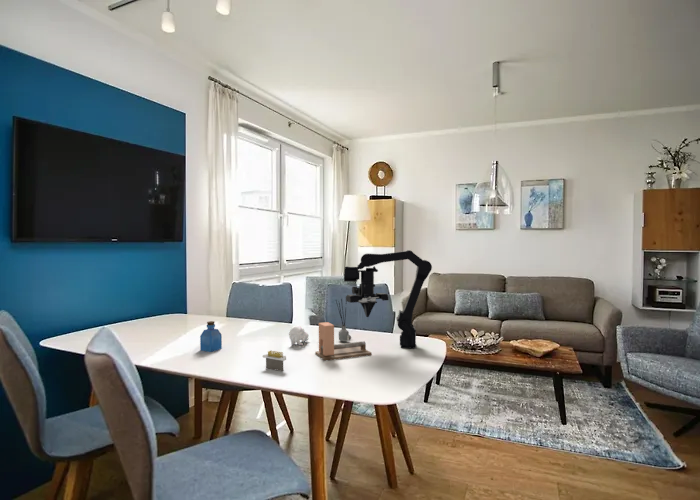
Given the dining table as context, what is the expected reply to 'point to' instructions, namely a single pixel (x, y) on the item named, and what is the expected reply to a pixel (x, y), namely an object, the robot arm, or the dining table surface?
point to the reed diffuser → (343, 328)
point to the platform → (274, 360)
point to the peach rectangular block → (326, 338)
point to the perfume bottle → (210, 338)
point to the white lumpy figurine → (298, 335)
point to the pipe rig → (346, 351)
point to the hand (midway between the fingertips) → (367, 316)
